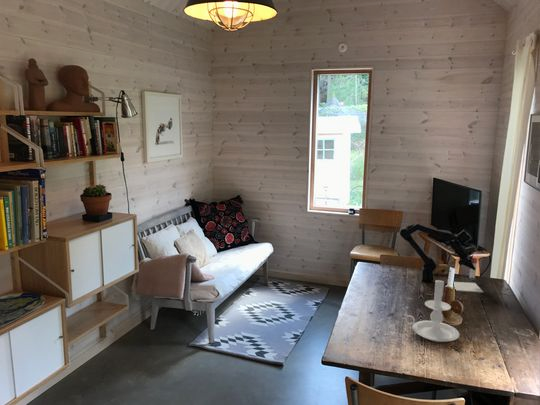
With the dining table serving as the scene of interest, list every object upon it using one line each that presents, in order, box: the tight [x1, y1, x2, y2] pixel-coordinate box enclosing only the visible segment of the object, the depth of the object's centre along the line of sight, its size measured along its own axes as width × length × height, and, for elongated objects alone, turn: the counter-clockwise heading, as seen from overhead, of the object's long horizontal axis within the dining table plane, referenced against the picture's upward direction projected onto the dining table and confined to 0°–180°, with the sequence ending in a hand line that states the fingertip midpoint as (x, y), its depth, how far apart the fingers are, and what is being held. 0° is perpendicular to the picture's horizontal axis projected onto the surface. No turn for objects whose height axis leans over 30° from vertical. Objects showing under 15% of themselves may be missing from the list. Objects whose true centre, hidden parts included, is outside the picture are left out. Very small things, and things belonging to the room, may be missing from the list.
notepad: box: [453, 281, 485, 294], centre depth 266 cm, size 17×15×1 cm
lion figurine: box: [433, 260, 450, 276], centre depth 290 cm, size 15×5×9 cm, turn 72°
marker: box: [468, 257, 478, 281], centre depth 265 cm, size 4×4×13 cm
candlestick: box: [403, 279, 460, 343], centre depth 202 cm, size 21×25×28 cm
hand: (475, 268), depth 264 cm, fingers closed on marker, 3 cm apart
